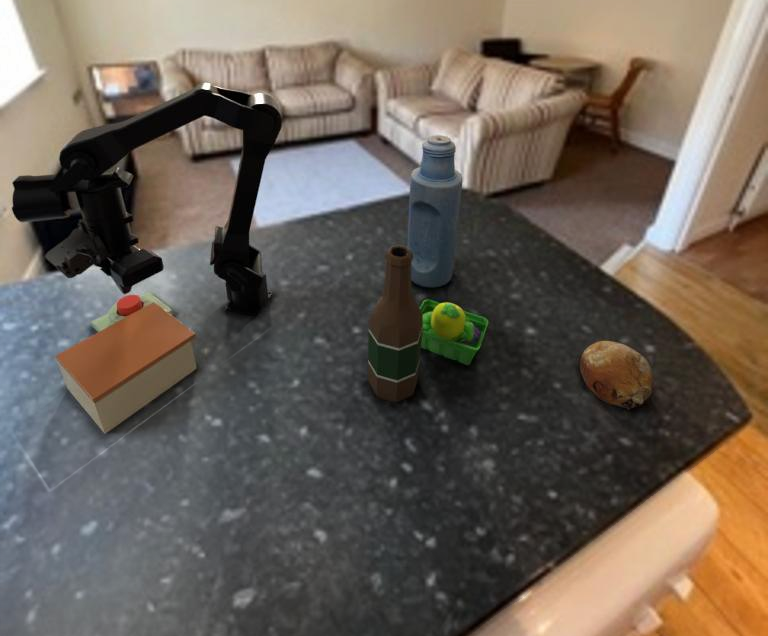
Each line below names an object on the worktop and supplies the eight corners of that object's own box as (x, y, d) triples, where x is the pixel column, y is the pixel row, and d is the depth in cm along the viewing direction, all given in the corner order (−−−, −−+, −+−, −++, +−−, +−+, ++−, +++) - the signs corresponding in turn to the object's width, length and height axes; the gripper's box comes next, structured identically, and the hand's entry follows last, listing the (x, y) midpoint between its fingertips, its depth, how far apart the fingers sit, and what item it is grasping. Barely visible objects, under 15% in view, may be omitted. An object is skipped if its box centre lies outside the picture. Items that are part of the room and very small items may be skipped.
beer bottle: (366, 362, 72) (368, 235, 61) (414, 360, 72) (424, 234, 62) (369, 406, 64) (371, 270, 54) (422, 403, 65) (434, 268, 55)
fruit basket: (486, 341, 76) (494, 288, 72) (472, 380, 69) (481, 324, 64) (423, 320, 81) (427, 269, 76) (404, 354, 73) (407, 300, 68)
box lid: (155, 305, 74) (154, 301, 74) (196, 337, 68) (195, 333, 67) (56, 359, 63) (54, 355, 63) (94, 403, 57) (92, 399, 57)
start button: (135, 299, 80) (133, 291, 79) (146, 308, 78) (144, 300, 77) (114, 310, 77) (112, 302, 76) (125, 319, 75) (122, 311, 74)
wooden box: (157, 334, 76) (150, 307, 73) (196, 368, 70) (191, 340, 67) (67, 388, 66) (56, 360, 63) (105, 434, 60) (94, 404, 57)
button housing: (149, 296, 84) (146, 283, 83) (173, 315, 80) (170, 301, 79) (92, 327, 77) (88, 313, 76) (115, 349, 73) (111, 335, 71)
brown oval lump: (639, 391, 72) (647, 343, 72) (658, 423, 62) (668, 367, 62) (573, 374, 75) (582, 327, 75) (582, 401, 65) (592, 347, 65)
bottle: (459, 270, 94) (475, 136, 82) (439, 295, 87) (453, 152, 74) (419, 255, 99) (429, 126, 86) (396, 278, 91) (403, 140, 79)
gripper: (19, 213, 68) (49, 294, 75) (73, 258, 58) (101, 347, 65) (97, 188, 76) (118, 263, 83) (155, 223, 67) (173, 305, 73)
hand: (126, 292), depth 76 cm, fingers closed
